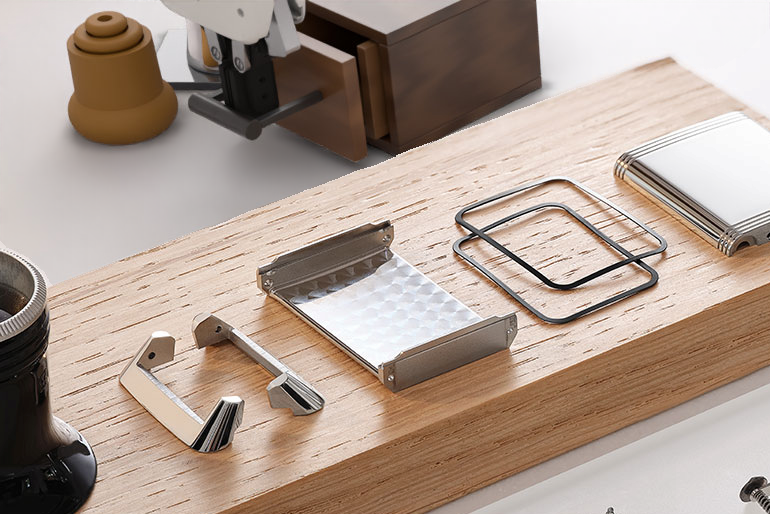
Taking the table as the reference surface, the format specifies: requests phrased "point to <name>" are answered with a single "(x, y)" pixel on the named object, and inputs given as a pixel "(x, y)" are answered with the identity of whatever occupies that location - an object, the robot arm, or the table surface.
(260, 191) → the table surface
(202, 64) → the beer glass
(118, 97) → the ornamental finial
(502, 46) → the cabinet
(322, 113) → the drawer
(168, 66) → the coaster
